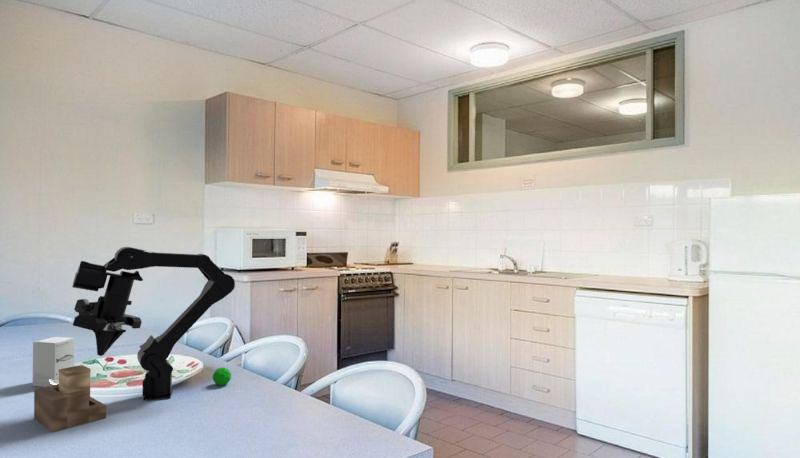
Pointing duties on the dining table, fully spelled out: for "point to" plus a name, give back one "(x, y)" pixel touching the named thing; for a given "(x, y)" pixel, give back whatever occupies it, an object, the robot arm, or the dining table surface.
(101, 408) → the socket
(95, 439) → the dining table surface
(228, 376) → the polyhedron
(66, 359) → the supplement box
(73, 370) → the peg
